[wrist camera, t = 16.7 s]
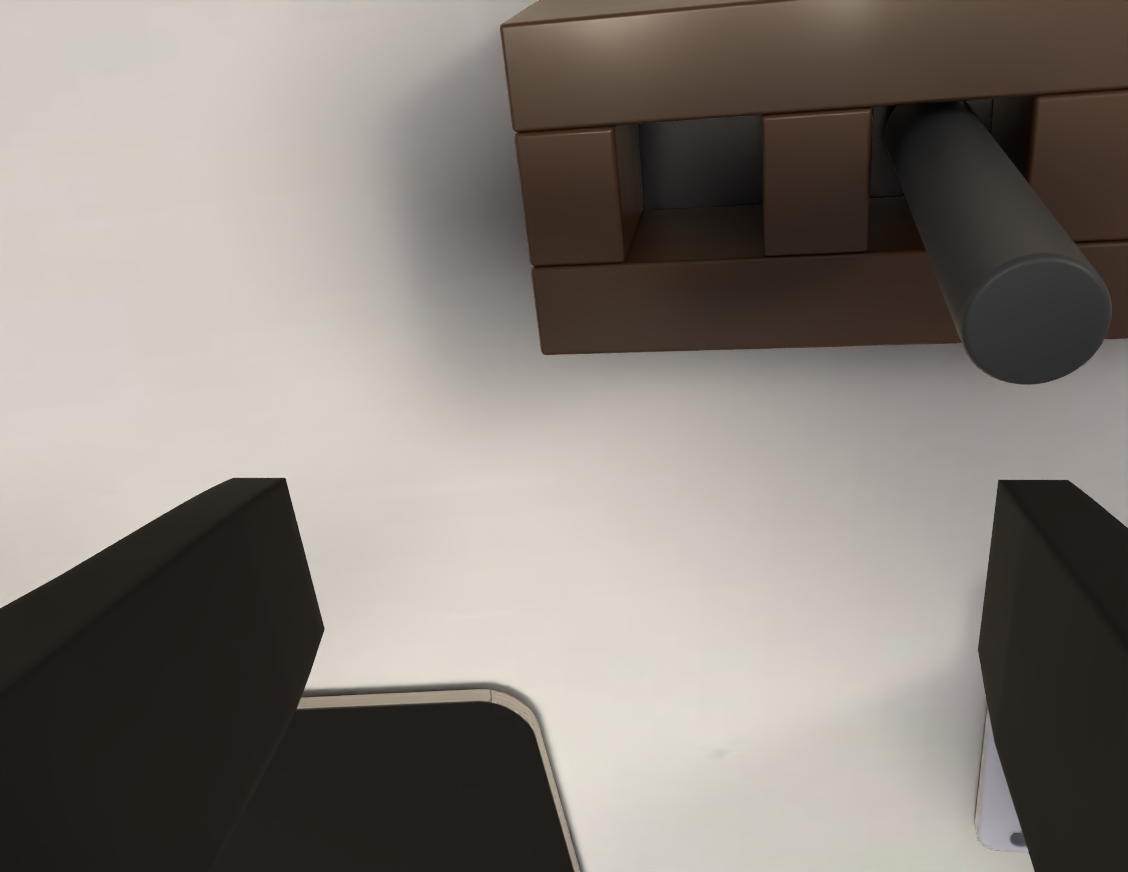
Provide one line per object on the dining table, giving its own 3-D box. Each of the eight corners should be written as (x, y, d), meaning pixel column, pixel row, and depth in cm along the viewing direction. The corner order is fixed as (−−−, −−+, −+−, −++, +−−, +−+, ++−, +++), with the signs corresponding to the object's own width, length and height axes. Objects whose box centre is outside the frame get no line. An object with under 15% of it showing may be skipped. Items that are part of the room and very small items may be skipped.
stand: (536, -1, 18) (498, 24, 16) (1391, -84, 16) (1514, -71, 13) (569, 293, 21) (540, 356, 18) (1309, 264, 18) (1399, 333, 16)
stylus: (968, 74, 18) (1123, 252, 10) (962, 158, 18) (1104, 385, 11) (881, 81, 18) (965, 258, 10) (878, 163, 19) (954, 389, 11)
